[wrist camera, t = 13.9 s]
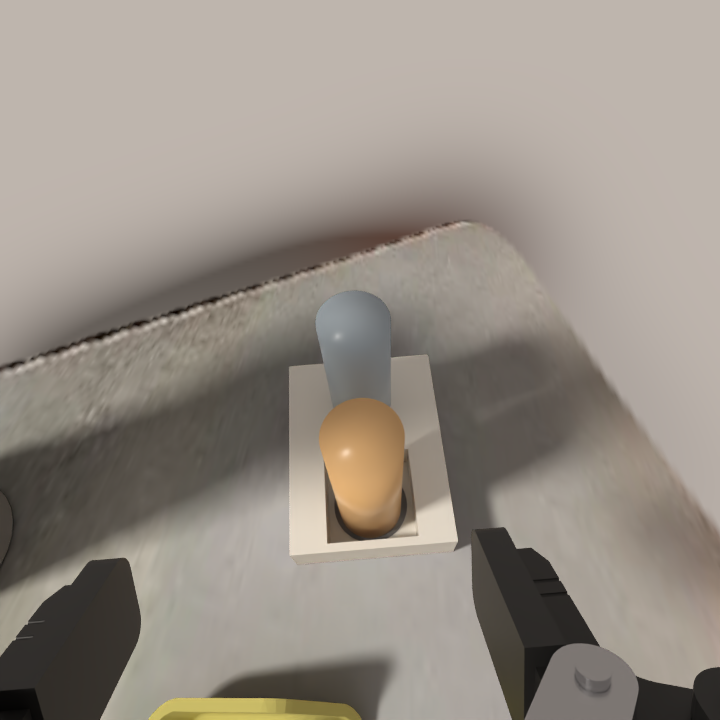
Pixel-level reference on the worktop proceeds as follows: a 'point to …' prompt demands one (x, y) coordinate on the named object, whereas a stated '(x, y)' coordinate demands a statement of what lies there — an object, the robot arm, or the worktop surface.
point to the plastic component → (252, 709)
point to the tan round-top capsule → (365, 464)
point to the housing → (401, 393)
